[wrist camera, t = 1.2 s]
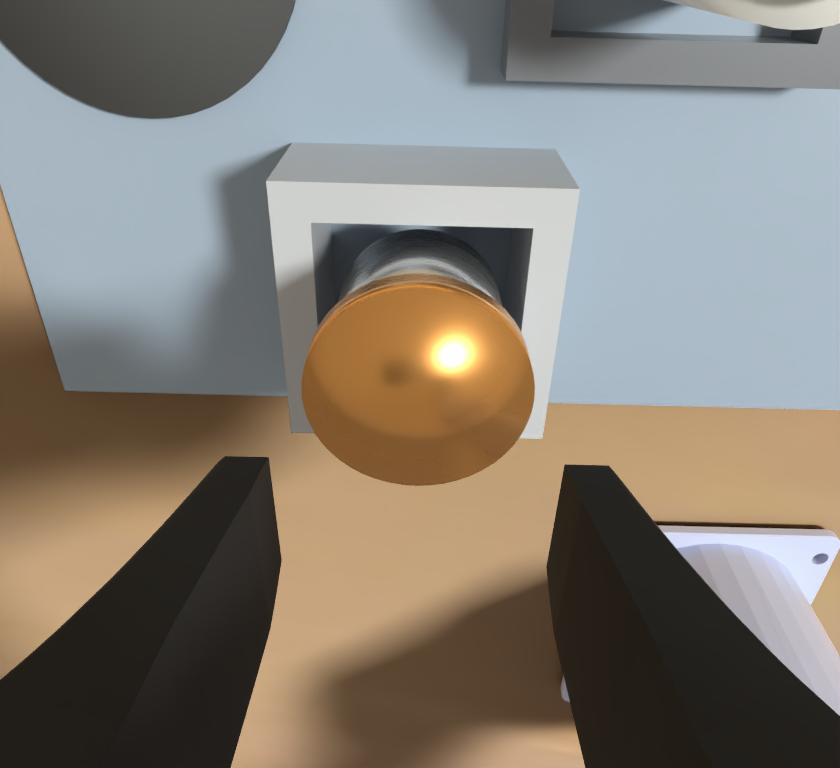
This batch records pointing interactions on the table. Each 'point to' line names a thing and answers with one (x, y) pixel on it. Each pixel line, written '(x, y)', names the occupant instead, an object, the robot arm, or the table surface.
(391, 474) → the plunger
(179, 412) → the table surface
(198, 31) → the rubber pad
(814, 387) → the panel
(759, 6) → the cartridge
